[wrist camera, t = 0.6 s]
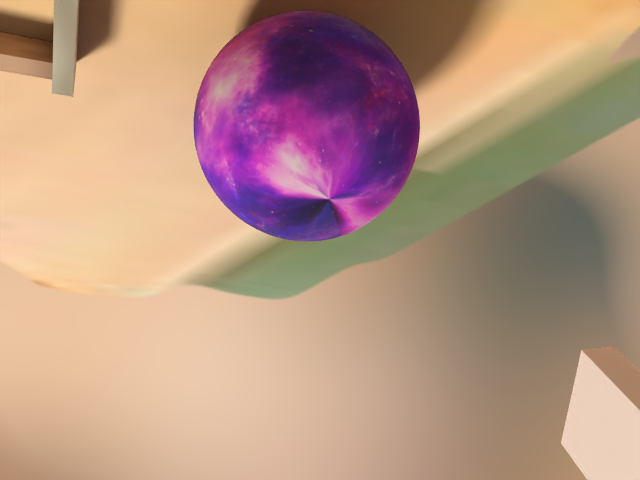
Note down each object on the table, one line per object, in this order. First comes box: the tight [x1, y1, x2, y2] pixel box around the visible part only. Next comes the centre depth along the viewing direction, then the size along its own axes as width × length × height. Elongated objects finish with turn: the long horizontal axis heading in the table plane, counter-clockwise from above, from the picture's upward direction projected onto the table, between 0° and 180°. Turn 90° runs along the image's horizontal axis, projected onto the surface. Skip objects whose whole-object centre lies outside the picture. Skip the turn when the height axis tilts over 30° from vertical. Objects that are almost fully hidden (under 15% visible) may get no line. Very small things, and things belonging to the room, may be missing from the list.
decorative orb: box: [194, 10, 420, 241], centre depth 36 cm, size 15×15×15 cm
